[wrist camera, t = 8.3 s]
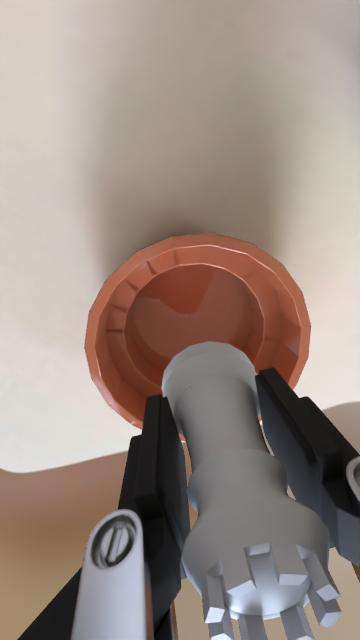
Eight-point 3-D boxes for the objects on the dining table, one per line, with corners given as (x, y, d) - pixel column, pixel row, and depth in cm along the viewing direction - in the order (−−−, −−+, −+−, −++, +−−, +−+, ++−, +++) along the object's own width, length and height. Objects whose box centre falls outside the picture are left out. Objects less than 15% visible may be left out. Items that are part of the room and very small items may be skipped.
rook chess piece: (269, 354, 12) (449, 563, 4) (230, 427, 13) (316, 689, 6) (181, 323, 11) (208, 507, 4) (148, 403, 12) (118, 666, 5)
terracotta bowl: (81, 347, 21) (49, 388, 15) (160, 197, 18) (157, 179, 12) (213, 411, 23) (227, 467, 18) (303, 292, 20) (356, 314, 14)
